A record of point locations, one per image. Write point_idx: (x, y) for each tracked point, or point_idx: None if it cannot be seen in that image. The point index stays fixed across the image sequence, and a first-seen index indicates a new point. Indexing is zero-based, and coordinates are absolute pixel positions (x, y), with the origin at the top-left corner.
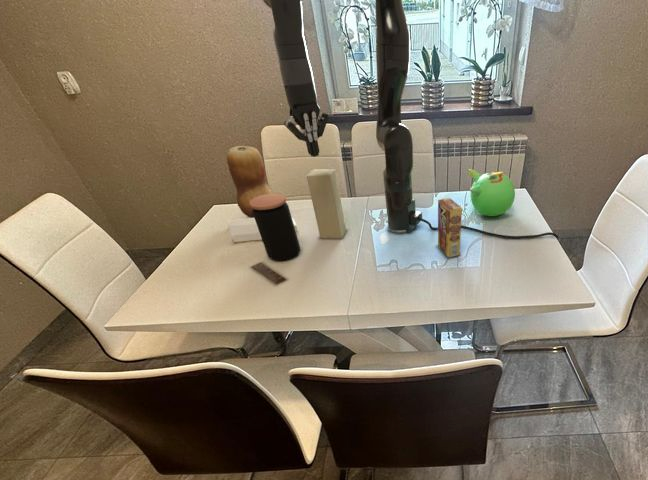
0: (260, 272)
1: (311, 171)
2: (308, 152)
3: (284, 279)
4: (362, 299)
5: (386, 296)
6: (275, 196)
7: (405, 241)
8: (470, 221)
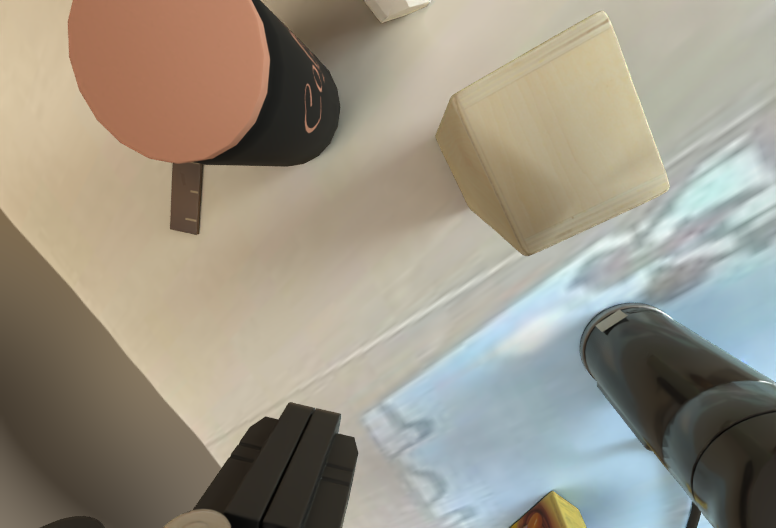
0: None
1: (552, 48)
2: (248, 434)
3: (194, 233)
4: None
5: None
6: (220, 53)
7: (541, 401)
8: None
